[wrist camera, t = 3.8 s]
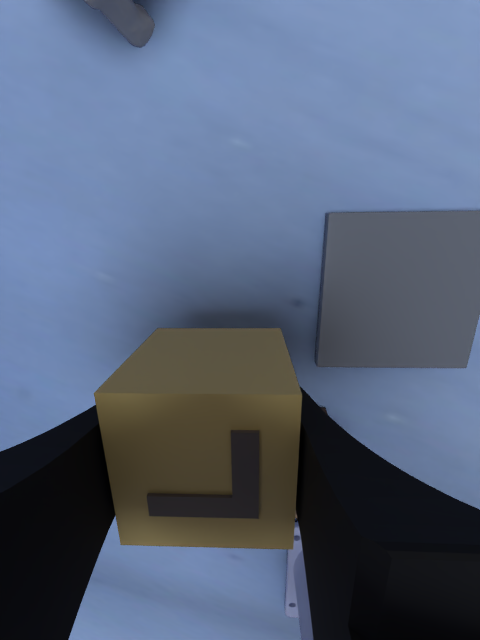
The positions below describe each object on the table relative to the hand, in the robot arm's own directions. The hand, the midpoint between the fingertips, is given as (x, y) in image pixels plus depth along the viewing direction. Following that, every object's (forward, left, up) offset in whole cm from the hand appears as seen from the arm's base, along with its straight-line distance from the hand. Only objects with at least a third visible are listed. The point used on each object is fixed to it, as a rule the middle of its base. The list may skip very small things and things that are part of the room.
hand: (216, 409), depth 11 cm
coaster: (+3, -9, -6) cm, 11 cm away
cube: (0, 0, -2) cm, 2 cm away
